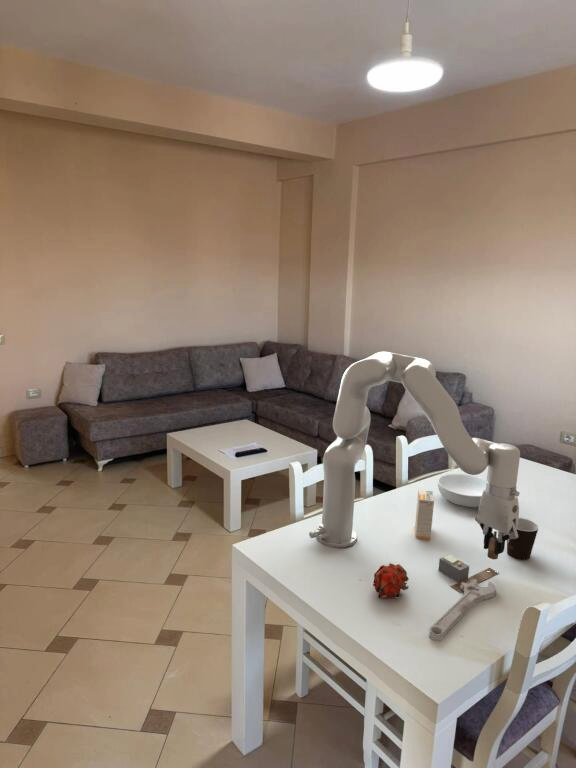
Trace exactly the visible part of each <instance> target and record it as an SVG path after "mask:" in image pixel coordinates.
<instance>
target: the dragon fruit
mask: <svg viewBox="0 0 576 768" xmlns="http://www.w3.org/2000/svg"><path fill="white" fill-rule="evenodd" d="M408 581H409V577H408V572H407V570H405V568H404V567H403V566H402V565H401V564H399V563H398V564H396V565H395V564H393V563H391V562H390V563H388V565H385V564H383V565H380V566H379V568H378V569H377V570H376V571H375V573H374V575H373V582H372V584H373V585H372V586H373V587H374V590H375V591H376V593H378V598H381V599H389V598H390V596H392V595H393V597H394V598H400V597H401V596H403V594H402V593H401V590H403V591H406V590H407V591H408V590H409V585H407V584H408V583H407V582H408Z"/></svg>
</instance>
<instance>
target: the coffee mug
mask: <svg viewBox="0 0 576 768" xmlns="http://www.w3.org/2000/svg"><path fill="white" fill-rule="evenodd" d="M538 531H539V525H538V524H537V523H535V522H534V521H533V520H531V519H528V518H524V517H523V518H522V517H519V522H518V529H517V533H518V538H516V539H508V540H506V554H507V555H508V556H509V557H510V558H511V559H514V560H518V561H528V560H530V558H531V555H532V551H533V549H534V544H535V541H536V538H537V535H538ZM509 533H510V532H509ZM510 534H511V533H510Z"/></svg>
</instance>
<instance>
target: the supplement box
mask: <svg viewBox="0 0 576 768" xmlns="http://www.w3.org/2000/svg"><path fill="white" fill-rule="evenodd" d="M417 491H418V492H417V502H416V510H415V511H416V512H415V522H414V532H415V538H416V539H424V540H430V539H431V535H432V525H433V515H434V506H435V499H434V498H435V497H434V491H433V490H426V489H418V490H417Z"/></svg>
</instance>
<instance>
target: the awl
mask: <svg viewBox="0 0 576 768" xmlns="http://www.w3.org/2000/svg"><path fill="white" fill-rule="evenodd" d="M493 535H494V537H491V538H490V539H489V545H488V549H487V557H488V558H489V559H491V560H498V558H499V554H498V555H496V554H495V553H494V551H495V543H496V541H498V531H497V530H496V531H493Z"/></svg>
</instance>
